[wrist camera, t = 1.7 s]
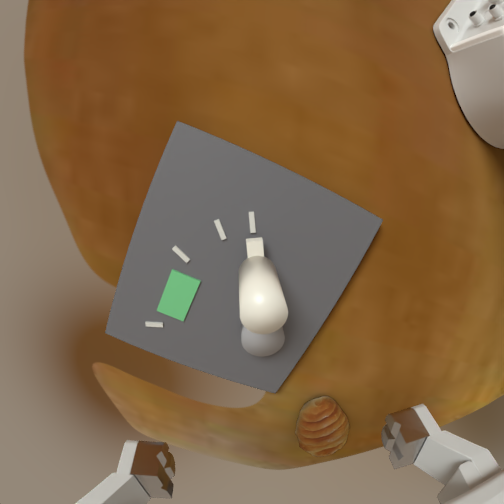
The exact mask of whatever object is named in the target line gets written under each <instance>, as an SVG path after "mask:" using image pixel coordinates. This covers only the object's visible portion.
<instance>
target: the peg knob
mask: <svg viewBox="0 0 504 504" xmlns="http://www.w3.org/2000/svg"><path fill="white" fill-rule="evenodd" d="M246 246H247V256H248V258H247V259H246V260H244V261H243V263H242V264H241V266H240V268H239V305H240V320H241V322H242V326H241V342H242V346H243V348H244V349H245V350H246V351H247V352H248V353H250V354H252V355H254V356H260V357H263V356H269V355H272V354H274V353H276V352H277V351H279V350H280V349H281V347H282V346H283V344H284V340H285V336H284V331H283V327H282V326H283V325H284V324H285V322H286V320H287V317H288V308H287V305H286V301H285V298H284V295H283V291H282V288H281V285H280V281H279V278H278V275H277V272H276V268H275V266H274V264H273V262H272V261H271V260H270V259H268V258H266V257H264V249H263V239H262V237H259V238H249V239H246Z"/></svg>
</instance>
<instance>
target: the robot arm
mask: <svg viewBox="0 0 504 504" xmlns="http://www.w3.org/2000/svg"><path fill="white" fill-rule="evenodd" d="M448 25H449V26H450V27H449V26H448ZM433 31H434V34H435V36H436V39H437V41H438V42H439V44H440V46H441V48H442V50H443V52H444V53H445V55H446V58H447V61H448V65H449V71H450V76H451V80H452V84H453V88H454V91H455V94H456V97H457V100H458V102H459V104H460V107H461V109H462V111H463V113H464V115H465V116H466V118H467V120H468V121H469V123H470V124H471V126H472V127H473V129H474V130H475V131H476V132H477V133H478V135H479V136H480V137H481V138H482V139H484V140H485V141H486V142H487V143H489V144H490V145H492V146H494V147H497V148H501V149H504V0H452V1H451V2H450V3H449V5H448V6H447V8H446V9H445V10H444V12H443V13H442V14H441V16H440V17H439V18H438V20H437V21H436V22H435V24H434V26H433ZM385 421H386V423H387V424H386V425H385V426H384V427H383V429H382V442H383V445H384V447H385V449H387V450H388V451H390V455H389V459H390V461H391V463H392V465H393V467H394V469H397V468H400V467H404V466H407V465H409V464H413V463H414V465H416V466H417V467H419V468H420V469H421V470H423V471H424V472H426V473H427V474H429V475H430V476H432V477H433V478H435V479H436V480H438V481H439V482H441V483H442V484H444V485H445V487H444V488H443V489H442V490H441V492H440V493H439V494H438V496H437V497H438V500H439V502H440V504H504V470H501V469H500V467H499V465H498V464H497V462H496V461H495V459H494V458H493V456H492V455H491V453H490V452H489V450H487V449H486V448H483V447H481V446H478V445H476V444H474V443H472V442H470V441H467V440H465V439H463V438H460V437H458V436H456V435H454V434H452V433H450V432H448V431H445V430H444V431H441V429H440V428H439V426H438V425H437V423H436V421H435V420H434V418H433V417H432V415H431V414H430V412H429V411H428V409H427V408H426V406H425V405H424V404H420V405H417V406H414V407H411V408H407V409H404V410H401V411H397V412H394V413H391V414H388V415H387V416H386V419H385ZM168 449H169V447H168V445H167V443H166V442H147V441H136V440H127V441H126V442H125V444H124V447H123V451H122V454H121V458H120V462H119V465H118V469H117V473H112V474H111V475H110V476H108V477H107V478H106V479H105V480H104V481H103V482H101V483H100V484H99V485H98V486H96V487H95V488H94V489H93V490H92V491H90V492H89V493H88V494H87V495H85V496H84V497H83V498H82V499H80V500H79V501H78V502H77V503H75V504H147V502H148V501H149V500H150V499H151V498H150V497H153V498H172V493H173V483H172V481H171V480H170V479H171V478H172V477H174V475H175V461H174V457H173V455H172V454H171V453H170V452H168Z"/></svg>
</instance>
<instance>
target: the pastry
mask: <svg viewBox="0 0 504 504" xmlns="http://www.w3.org/2000/svg"><path fill="white" fill-rule="evenodd" d="M348 432H349V423H348V418H347V416H346V415H345V413H344V412H343V411H342V409H341V408H340V406H339V405H338V404H337V402H336V401H335V400H334V399H332V398H330V397H329V396H323V397H320V398H316V399H313V400H311V401H309V402H307V403H305V404H304V406H303V408H302V409H301V411H300V414H299V418H298V420H297V427H296V430H295V434H296V435H297V437H298V440H299V446H300V447H301V448H302V449H303V450H305V451H307V452H308V453H310V454H312V455H313V456H316V457H324V456H329V455H331V454H333V453H335V452H336V451H337V450H339V449H341V448H342V447H343V446H344V444H345V443H346V440H347V436H348Z"/></svg>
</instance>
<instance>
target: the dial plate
mask: <svg viewBox="0 0 504 504" xmlns="http://www.w3.org/2000/svg"><path fill="white" fill-rule="evenodd" d="M382 221H383V220H382V219H381V218H379V217H377V216H375V215H374V214H372V213H370V212H368V211H367V210H365V209H363V208H361V207H359V206H358V205H356V204H354V203H352V202H350V201H349V200H347V199H345V198H343V197H341V196H339V195H337V194H336V193H334V192H332V191H330V190H328V189H326V188H324V187H322V186H320V185H318V184H316V183H314V182H312V181H310V180H308V179H306V178H305V177H303V176H301V175H298V174H296V173H294V172H292V171H290V170H288V169H286V168H284V167H282V166H280V165H278V164H276V163H274V162H272V161H270V160H267V159H265V158H263V157H261V156H259V155H257V154H254V153H252V152H250V151H248V150H246V149H243V148H241V147H239V146H237V145H234V144H232V143H230V142H227V141H225V140H223V139H220V138H218V137H216V136H213V135H211V134H209V133H206V132H204V131H201V130H199V129H196V128H194V127H192V126H189V125H187V124H184V123H181V122H179V121H177V123H176V125H175V127H174V130H173V132H172V134H171V136H170V139H169V141H168V143H167V146H166V148H165V150H164V153H163V155H162V158H161V160H160V163H159V165H158V168H157V170H156V173H155V175H154V178H153V180H152V183H151V185H150V188H149V191H148V193H147V196H146V199H145V201H144V204H143V207H142V210H141V213H140V215H139V218H138V221H137V224H136V227H135V230H134V233H133V236H132V239H131V242H130V245H129V248H128V251H127V255H126V258H125V261H124V264H123V268H122V271H121V275H120V278H119V281H118V285H117V289H116V292H115V296H114V300H113V303H112V307H111V311H110V315H109V319H108V323H107V328H106V331H105V333H107V334H109V335H111V336H113V337H115V338H118V339H120V340H122V341H124V342H127V343H129V344H132V345H134V346H137V347H139V348H141V349H144V350H146V351H149V352H151V353H154V354H156V355H159V356H161V357H164V358H167V359H169V360H172V361H174V362H177V363H180V364H183V365H185V366H188V367H191V368H194V369H197V370H200V371H203V372H206V373H209V374H212V375H215V376H218V377H221V378H224V379H227V380H230V381H234V382H237V383H240V384H244V385H247V386H250V387H254V388H257V389H261V390H265V391H268V392H272V393H276V392H277V390H278V389H279V387H280V386H281V385H282V383H283V382H284V381H285V379H286V378H287V376H288V375H289V373H290V372H291V371H292V369H293V368H294V366H295V365H296V363H297V362H298V360H299V359H300V358H301V356H302V355H303V353H304V352H305V350H306V349H307V347H308V346H309V344H310V343H311V341H312V340H313V338H314V337H315V335H316V334H317V332H318V330H319V329H320V327H321V326H322V324H323V323H324V321H325V320H326V318H327V316H328V315H329V313H330V312H331V310H332V308H333V307H334V305H335V304H336V302H337V300H338V299H339V297H340V295H341V294H342V292H343V290H344V289H345V287H346V285H347V284H348V282H349V280H350V279H351V277H352V275H353V274H354V272H355V270H356V268H357V267H358V265H359V263H360V261H361V260H362V258H363V256H364V254H365V253H366V251H367V249H368V247H369V245H370V244H371V242H372V240H373V238H374V236H375V234H376V232H377V231H378V229H379V227H380V225H381V223H382ZM259 237H262V239H263V249H264V257H266V258H268V259H270V260H271V261H272V262H273V264H274V266H275V268H276V272H277V275H278V278H279V281H280V285H281V288H282V291H283V295H284V298H285V301H286V305H287V308H288V317H287V320H286V322H285V324H284V325H283V326H282V327H283V331H284V336H285V340H284V344H283V346H282V347H281V349H280V350H279V351H277V352H276V353H274V354H272V355H269V356H263V357H260V356H254V355H252V354H250V353H248V352H247V351H246V350H245V349H244V348H243V346H242V342H241V326H242V322H241V320H240V305H239V268H240V266H241V264H242V263H243V261H244V260H246V259H247V258H248V256H247V246H246V239H249V238H259Z"/></svg>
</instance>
